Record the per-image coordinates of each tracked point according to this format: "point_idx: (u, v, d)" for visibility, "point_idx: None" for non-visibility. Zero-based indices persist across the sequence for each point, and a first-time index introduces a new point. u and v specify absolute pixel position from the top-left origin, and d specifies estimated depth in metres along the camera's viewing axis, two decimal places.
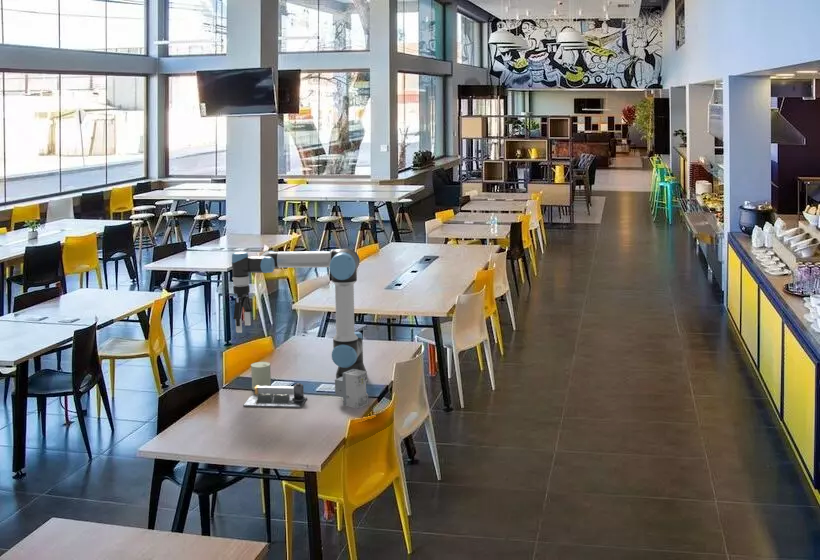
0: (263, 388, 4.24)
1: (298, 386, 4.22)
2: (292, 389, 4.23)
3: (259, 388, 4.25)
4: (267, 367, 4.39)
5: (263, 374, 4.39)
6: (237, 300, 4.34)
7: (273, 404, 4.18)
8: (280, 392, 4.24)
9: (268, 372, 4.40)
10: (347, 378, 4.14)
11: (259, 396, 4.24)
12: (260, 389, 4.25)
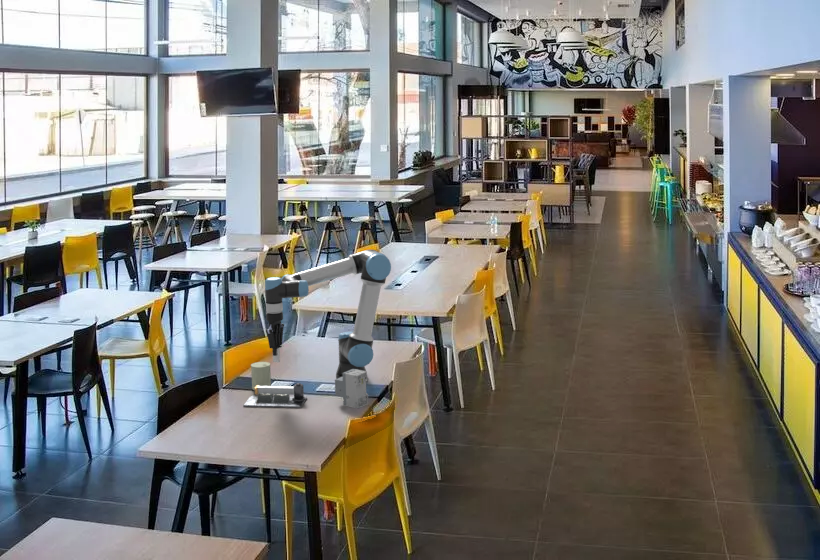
0: (263, 388, 4.24)
1: (298, 386, 4.22)
2: (292, 389, 4.23)
3: (259, 388, 4.25)
4: (267, 367, 4.39)
5: (263, 374, 4.39)
6: (268, 332, 4.21)
7: (273, 404, 4.18)
8: (280, 392, 4.24)
9: (268, 372, 4.40)
10: (347, 378, 4.14)
11: (259, 396, 4.24)
12: (260, 389, 4.25)
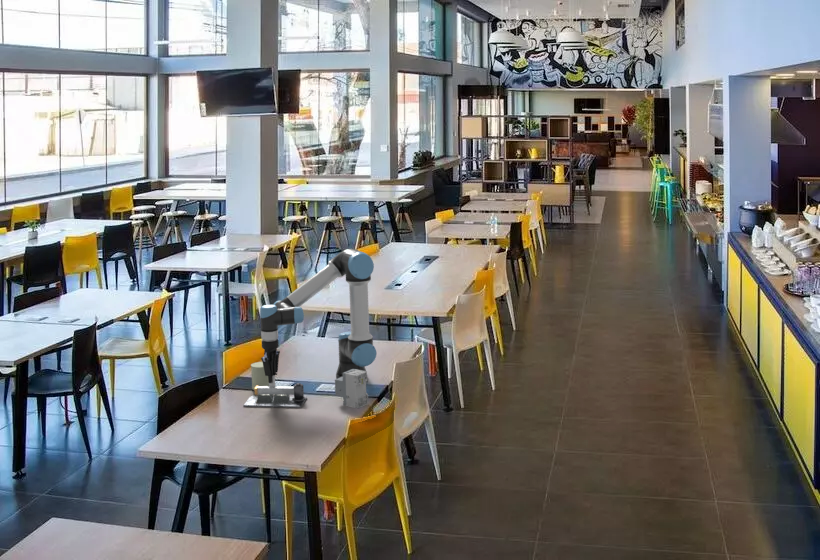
0: (263, 388, 4.24)
1: (298, 386, 4.22)
2: (292, 389, 4.23)
3: (259, 388, 4.24)
4: None
5: (263, 374, 4.39)
6: (264, 360, 4.19)
7: (273, 404, 4.18)
8: (280, 392, 4.24)
9: None
10: (347, 378, 4.14)
11: (259, 396, 4.24)
12: (259, 389, 4.24)
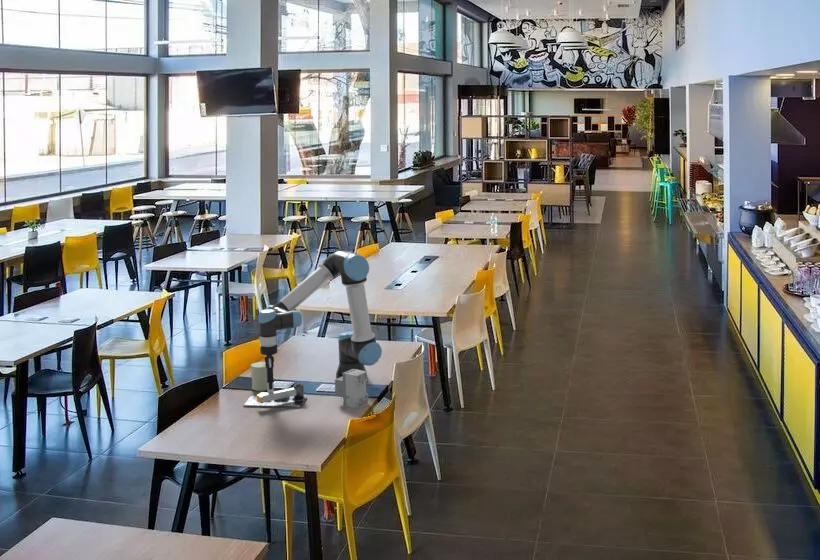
0: (267, 395, 4.14)
1: (300, 386, 4.22)
2: (294, 390, 4.21)
3: (263, 396, 4.13)
4: None
5: (263, 374, 4.39)
6: (270, 366, 4.10)
7: (273, 404, 4.18)
8: (283, 396, 4.19)
9: None
10: (347, 378, 4.14)
11: None
12: (264, 397, 4.13)
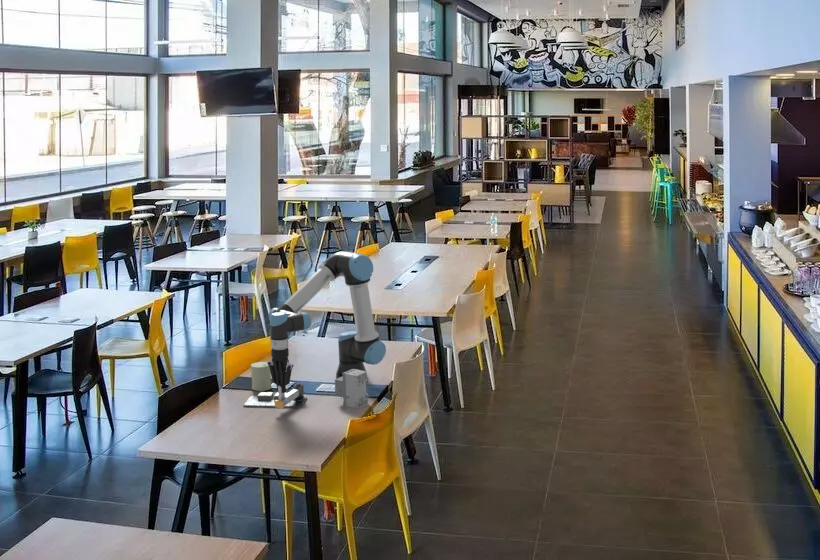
0: (285, 399, 4.09)
1: (301, 385, 4.23)
2: (298, 390, 4.21)
3: None
4: (267, 367, 4.39)
5: (263, 374, 4.39)
6: (291, 368, 4.07)
7: (273, 404, 4.18)
8: (293, 398, 4.16)
9: (268, 372, 4.40)
10: (347, 378, 4.14)
11: (259, 396, 4.24)
12: (283, 401, 4.07)
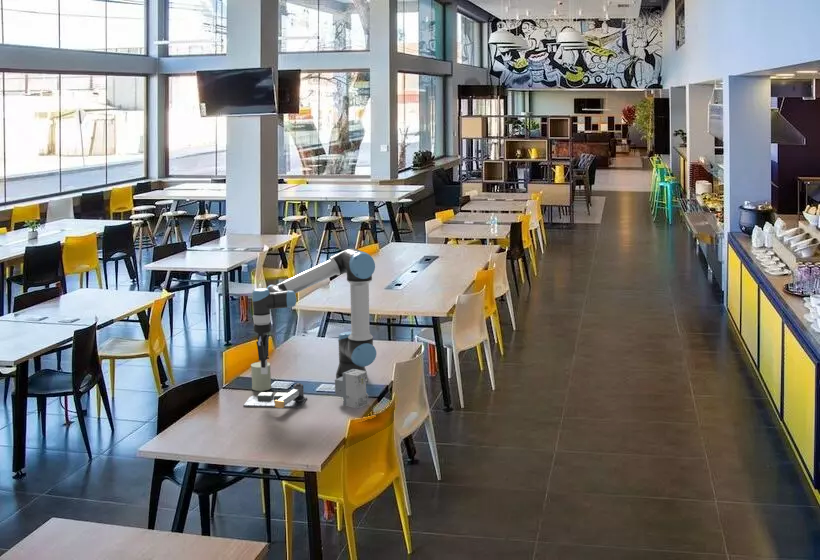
0: (285, 399, 4.09)
1: (301, 385, 4.23)
2: (298, 390, 4.21)
3: None
4: None
5: (263, 374, 4.39)
6: (259, 344, 4.15)
7: (273, 404, 4.18)
8: (293, 398, 4.16)
9: (268, 372, 4.40)
10: (347, 378, 4.14)
11: (259, 396, 4.24)
12: (283, 401, 4.07)
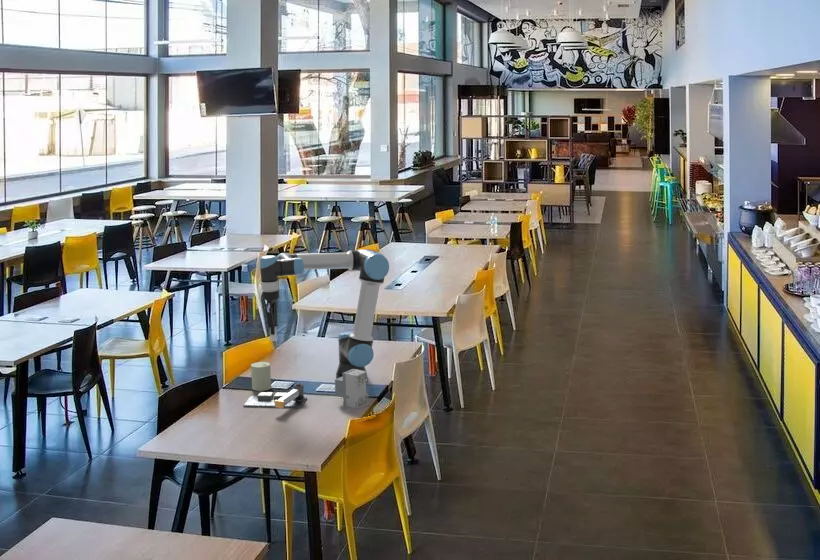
0: (285, 399, 4.09)
1: (301, 385, 4.23)
2: (298, 390, 4.21)
3: None
4: (267, 367, 4.39)
5: (263, 374, 4.39)
6: (268, 311, 4.18)
7: (273, 404, 4.18)
8: (293, 398, 4.16)
9: (268, 372, 4.40)
10: (347, 378, 4.14)
11: (259, 396, 4.24)
12: (283, 401, 4.07)
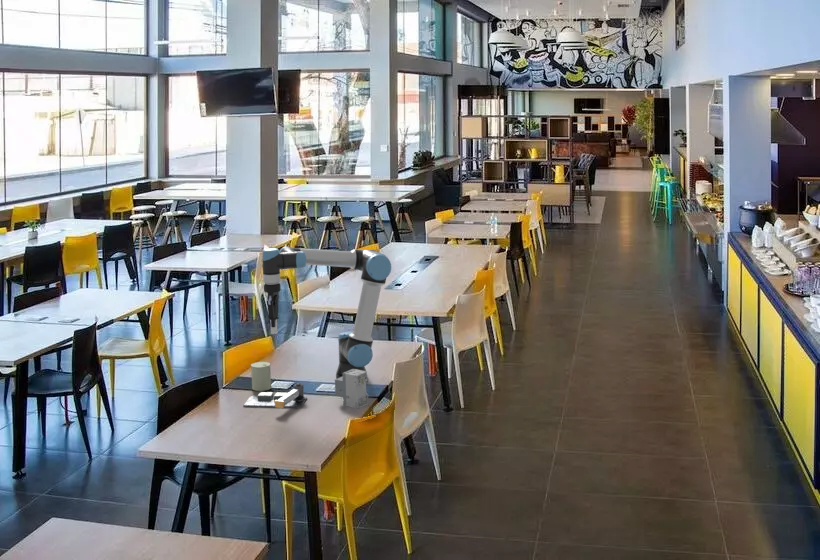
0: (285, 399, 4.09)
1: (301, 385, 4.23)
2: (298, 390, 4.21)
3: None
4: (267, 367, 4.39)
5: (263, 374, 4.39)
6: (269, 303, 4.18)
7: (273, 404, 4.18)
8: (293, 398, 4.16)
9: (268, 372, 4.40)
10: (347, 378, 4.14)
11: (259, 396, 4.24)
12: (283, 401, 4.07)
